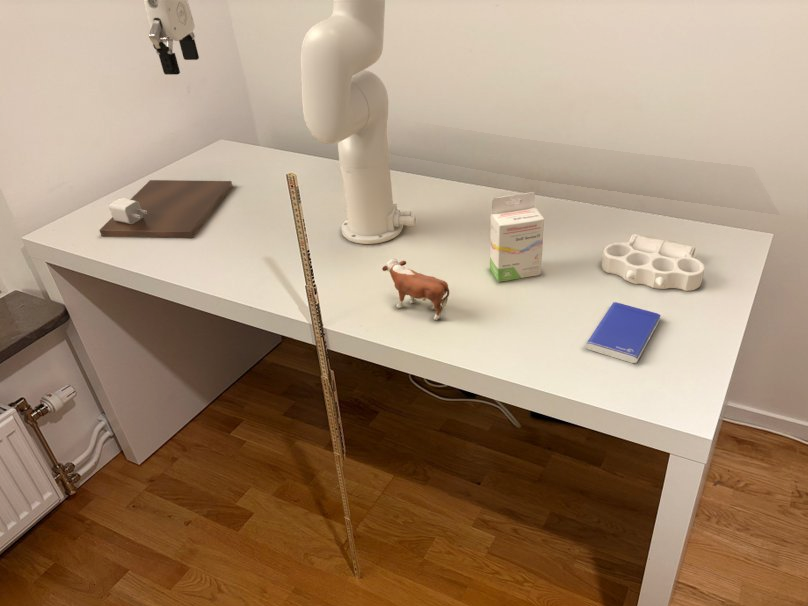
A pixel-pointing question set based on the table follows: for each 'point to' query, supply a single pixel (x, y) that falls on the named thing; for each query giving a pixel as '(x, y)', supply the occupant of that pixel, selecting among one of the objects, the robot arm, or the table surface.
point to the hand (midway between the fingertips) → (182, 66)
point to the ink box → (516, 237)
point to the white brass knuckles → (654, 263)
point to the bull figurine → (417, 286)
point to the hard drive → (623, 332)
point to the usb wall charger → (126, 211)
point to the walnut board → (171, 209)
